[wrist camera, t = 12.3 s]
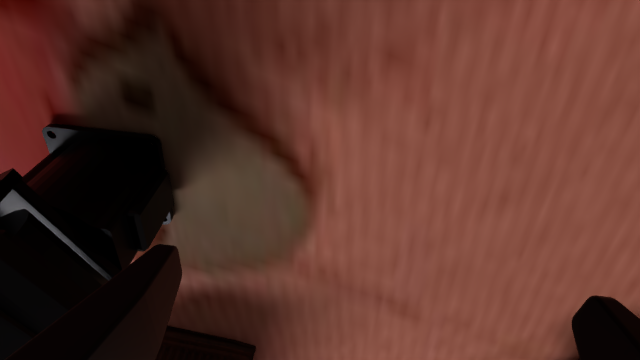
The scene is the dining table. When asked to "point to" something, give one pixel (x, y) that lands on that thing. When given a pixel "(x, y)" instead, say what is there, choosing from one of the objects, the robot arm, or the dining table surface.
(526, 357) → the dining table surface
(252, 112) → the dining table surface
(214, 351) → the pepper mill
